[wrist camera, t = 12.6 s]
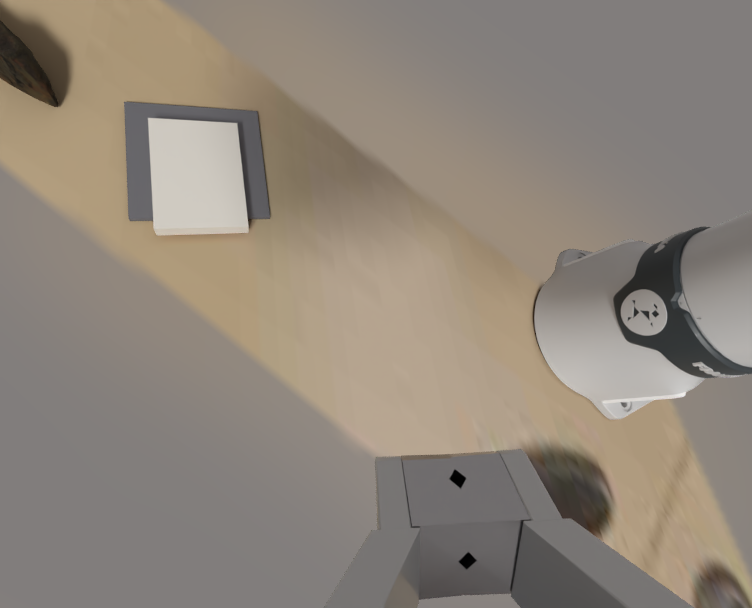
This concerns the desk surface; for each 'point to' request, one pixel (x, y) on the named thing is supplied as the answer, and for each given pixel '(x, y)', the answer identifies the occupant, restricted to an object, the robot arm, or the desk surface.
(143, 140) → the mat
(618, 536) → the desk surface
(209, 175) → the tile
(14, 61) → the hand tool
